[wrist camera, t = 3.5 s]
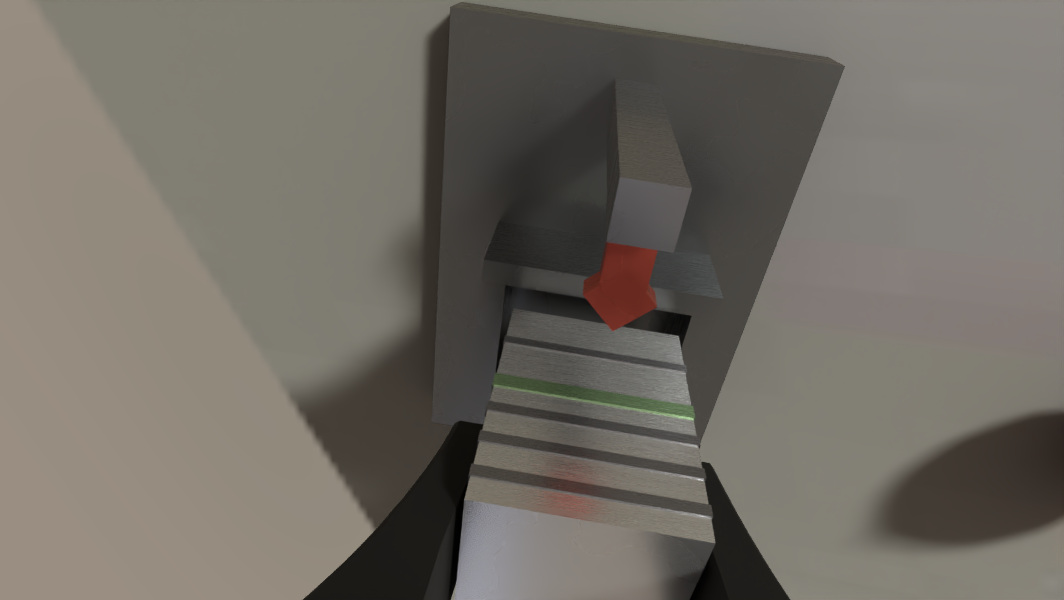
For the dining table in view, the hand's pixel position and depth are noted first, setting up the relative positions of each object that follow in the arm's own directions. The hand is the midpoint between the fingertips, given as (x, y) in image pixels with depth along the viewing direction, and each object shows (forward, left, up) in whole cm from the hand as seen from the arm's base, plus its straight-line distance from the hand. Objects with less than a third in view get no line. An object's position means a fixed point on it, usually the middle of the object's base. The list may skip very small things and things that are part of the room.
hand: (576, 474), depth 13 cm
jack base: (+1, +1, -7) cm, 7 cm away
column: (0, 0, -3) cm, 3 cm away
